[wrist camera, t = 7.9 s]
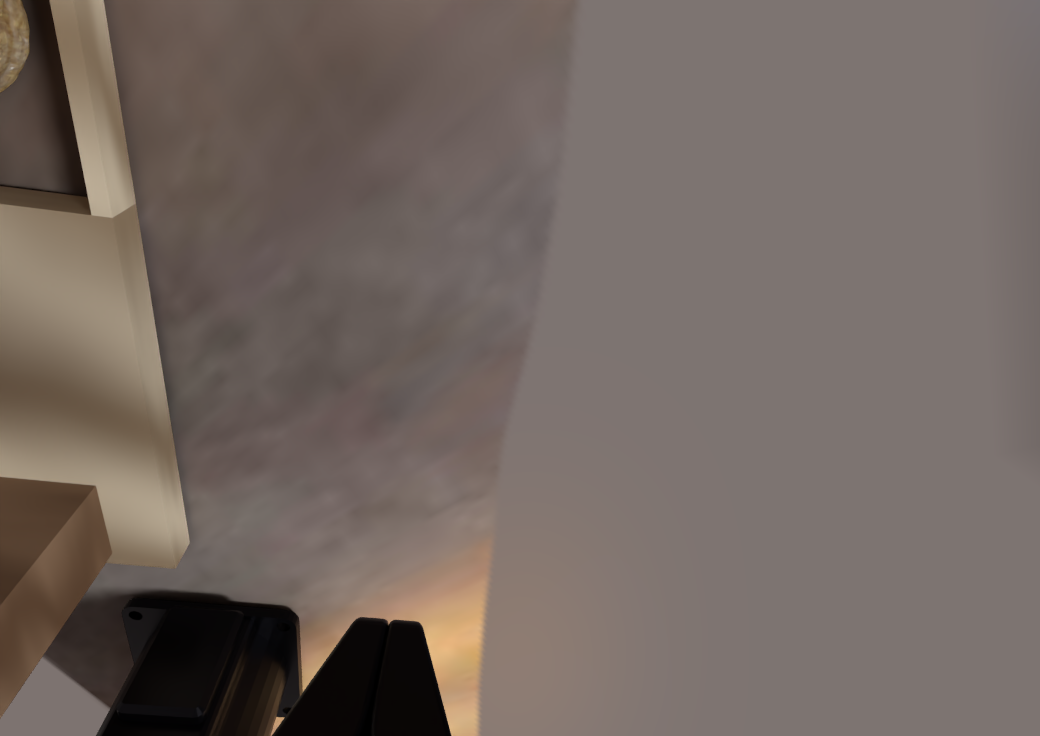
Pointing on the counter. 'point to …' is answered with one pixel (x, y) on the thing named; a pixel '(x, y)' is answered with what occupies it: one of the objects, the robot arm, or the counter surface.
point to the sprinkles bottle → (12, 41)
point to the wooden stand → (78, 376)
